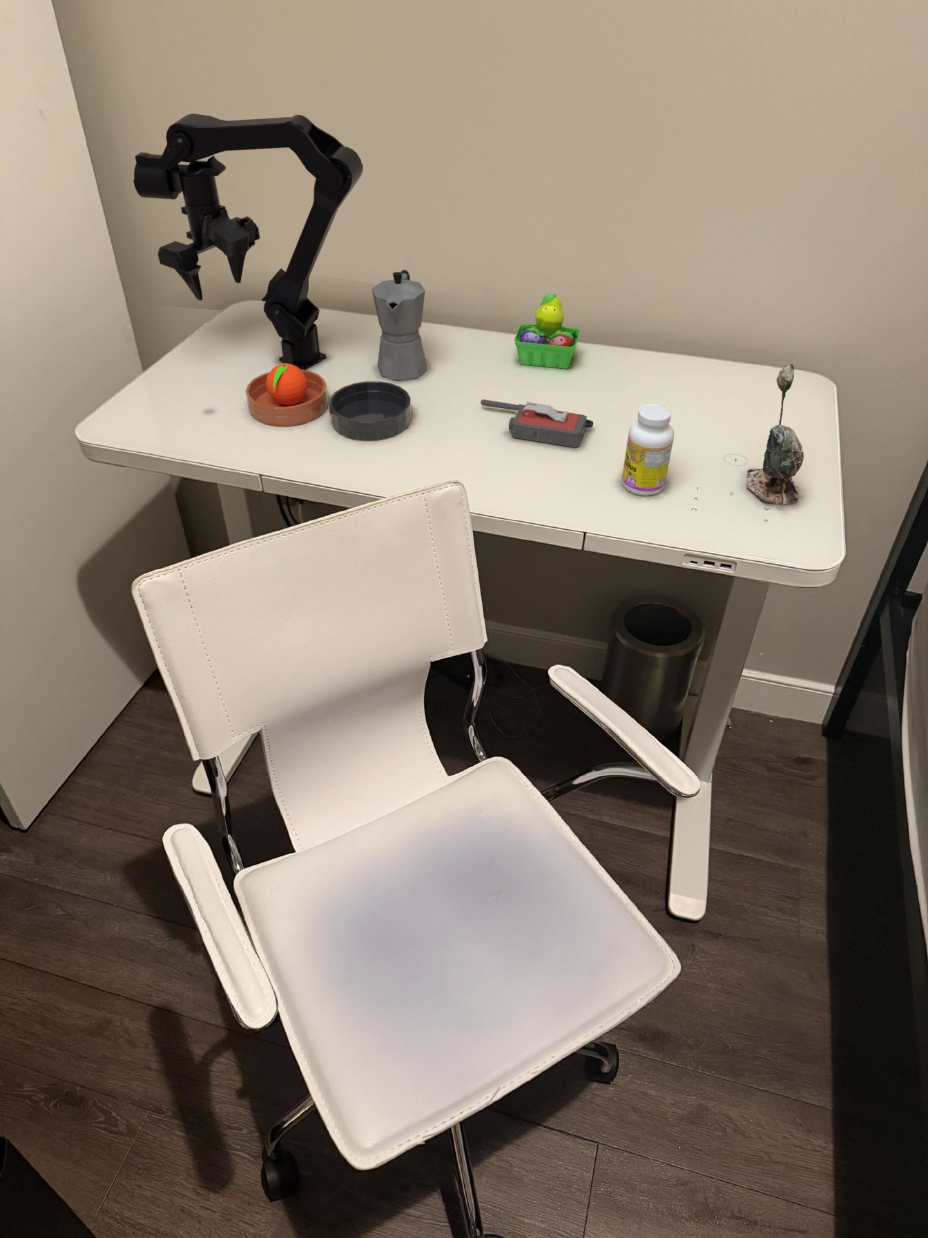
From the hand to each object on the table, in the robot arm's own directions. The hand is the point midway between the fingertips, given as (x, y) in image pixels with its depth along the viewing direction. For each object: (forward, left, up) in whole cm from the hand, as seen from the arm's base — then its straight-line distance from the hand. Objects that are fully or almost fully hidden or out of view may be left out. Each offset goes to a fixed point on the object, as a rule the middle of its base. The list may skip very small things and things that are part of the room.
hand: (219, 290), depth 161 cm
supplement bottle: (-7, +84, -12) cm, 85 cm away
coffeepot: (-15, +30, -12) cm, 36 cm away
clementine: (+8, +23, -12) cm, 27 cm away
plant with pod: (-17, +101, -12) cm, 103 cm away
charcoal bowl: (+3, +37, -12) cm, 39 cm away
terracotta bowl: (+8, +23, -12) cm, 27 cm away
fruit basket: (-33, +50, -12) cm, 61 cm away
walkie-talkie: (-11, +61, -12) cm, 63 cm away
